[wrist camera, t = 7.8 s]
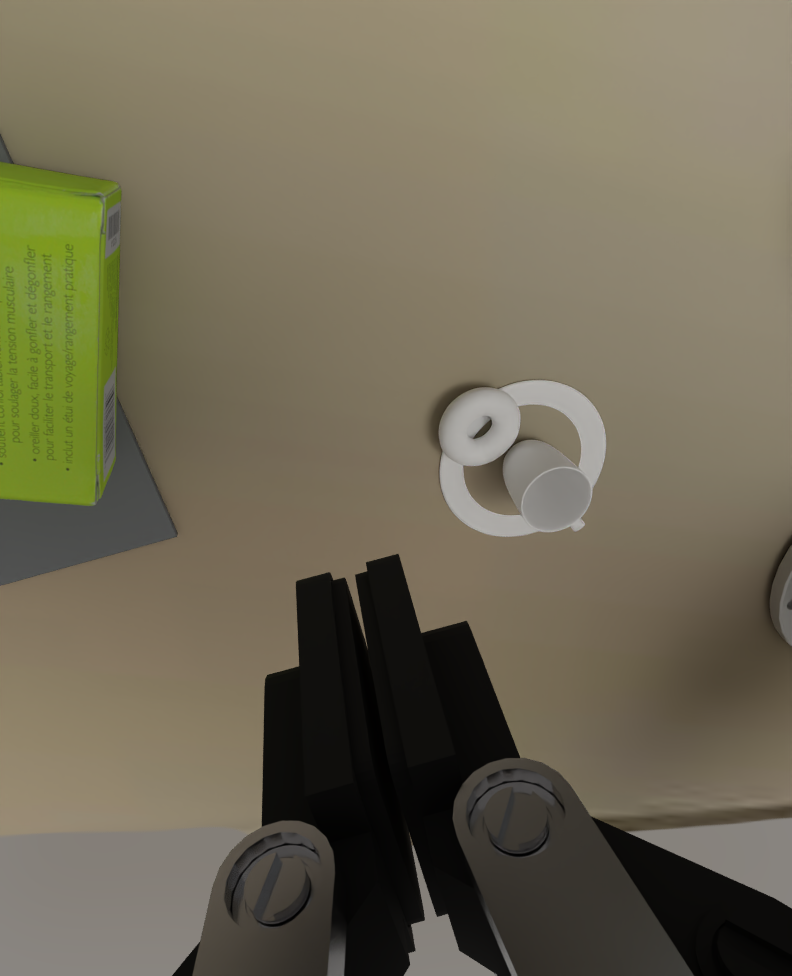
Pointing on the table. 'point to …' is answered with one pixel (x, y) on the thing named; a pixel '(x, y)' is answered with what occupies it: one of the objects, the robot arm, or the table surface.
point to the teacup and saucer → (521, 458)
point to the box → (57, 334)
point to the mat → (85, 514)
